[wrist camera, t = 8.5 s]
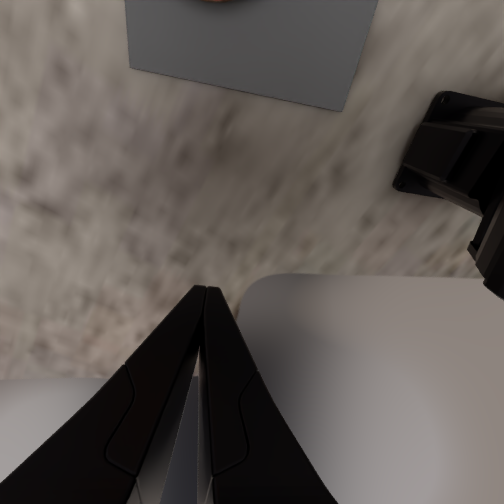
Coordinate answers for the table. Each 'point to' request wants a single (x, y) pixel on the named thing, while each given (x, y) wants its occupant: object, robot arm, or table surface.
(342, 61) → the mat
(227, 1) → the tin
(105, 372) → the table surface
